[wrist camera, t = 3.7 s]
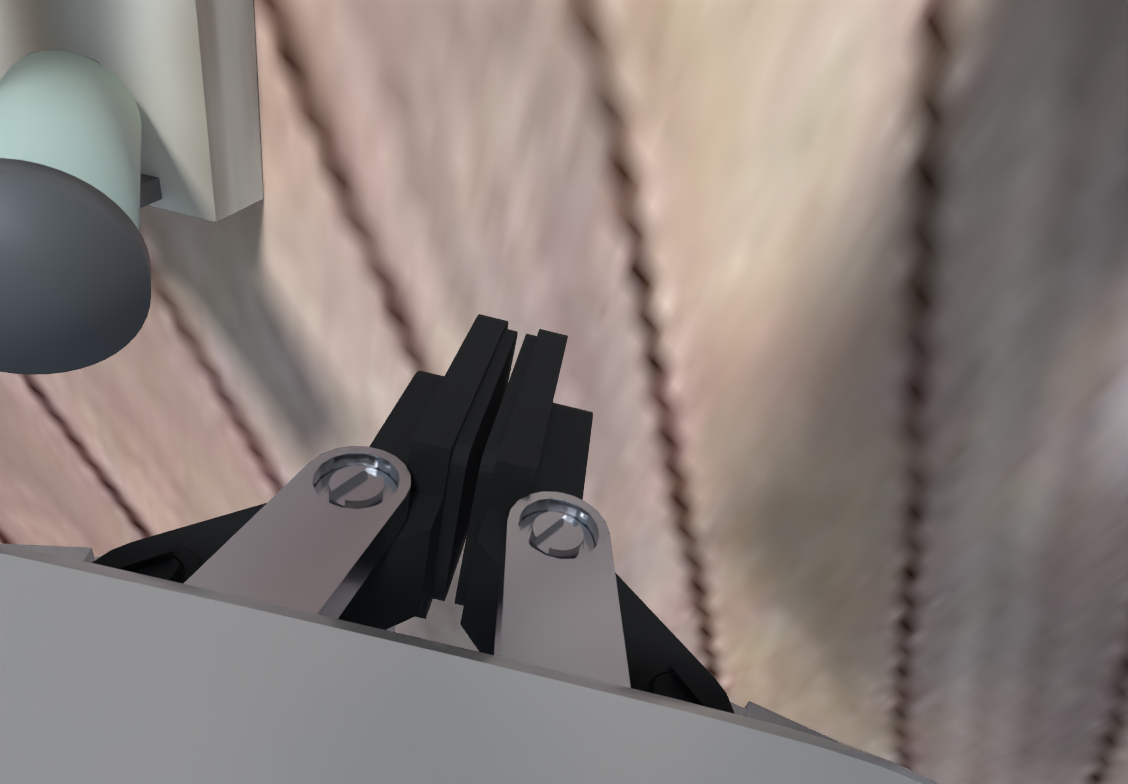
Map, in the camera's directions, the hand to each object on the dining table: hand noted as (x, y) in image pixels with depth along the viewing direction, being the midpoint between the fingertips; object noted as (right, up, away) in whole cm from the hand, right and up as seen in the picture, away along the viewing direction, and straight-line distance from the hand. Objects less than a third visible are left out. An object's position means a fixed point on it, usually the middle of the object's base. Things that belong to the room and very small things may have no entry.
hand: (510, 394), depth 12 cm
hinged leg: (-13, +8, +6) cm, 17 cm away
